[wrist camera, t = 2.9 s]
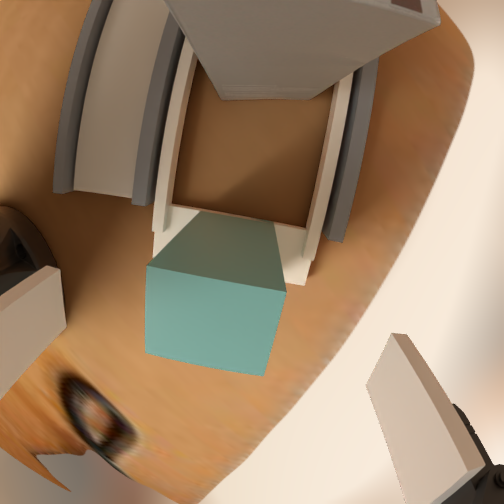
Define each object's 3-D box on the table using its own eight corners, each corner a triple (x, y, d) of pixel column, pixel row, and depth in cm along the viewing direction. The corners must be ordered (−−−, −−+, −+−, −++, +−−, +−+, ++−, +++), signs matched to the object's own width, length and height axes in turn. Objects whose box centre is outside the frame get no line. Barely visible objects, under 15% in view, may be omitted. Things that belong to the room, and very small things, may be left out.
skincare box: (218, 7, 16) (163, -149, 1) (316, 7, 16) (384, -141, 1) (218, 108, 19) (111, 2, 4) (322, 108, 18) (464, 21, 3)
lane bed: (70, 187, 20) (52, 192, 18) (121, -28, 14) (110, -40, 12) (333, 232, 21) (342, 242, 19) (374, -4, 15) (384, -17, 12)
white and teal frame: (156, 253, 22) (82, 334, 11) (209, -20, 15) (176, -111, 4) (303, 281, 22) (333, 383, 12) (356, 6, 15) (416, -72, 5)
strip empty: (81, 187, 20) (24, 204, 13) (143, -50, 13) (114, -91, 6) (138, 195, 20) (89, 215, 14) (200, -55, 13) (183, -104, 7)
